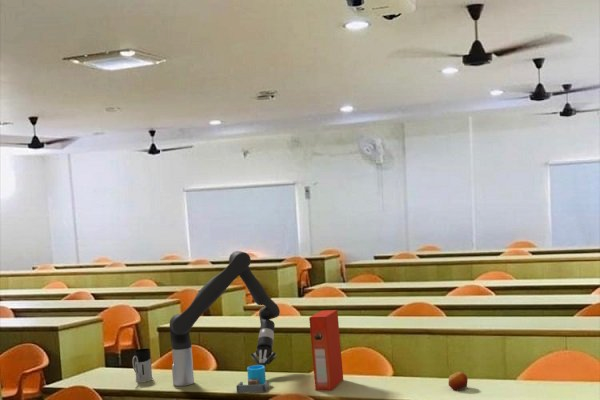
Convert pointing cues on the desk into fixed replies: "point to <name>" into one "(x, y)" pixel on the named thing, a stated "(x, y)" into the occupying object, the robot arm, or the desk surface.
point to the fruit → (458, 381)
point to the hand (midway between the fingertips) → (261, 371)
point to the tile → (253, 382)
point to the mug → (257, 373)
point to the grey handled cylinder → (142, 365)
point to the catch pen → (252, 387)
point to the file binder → (326, 349)
